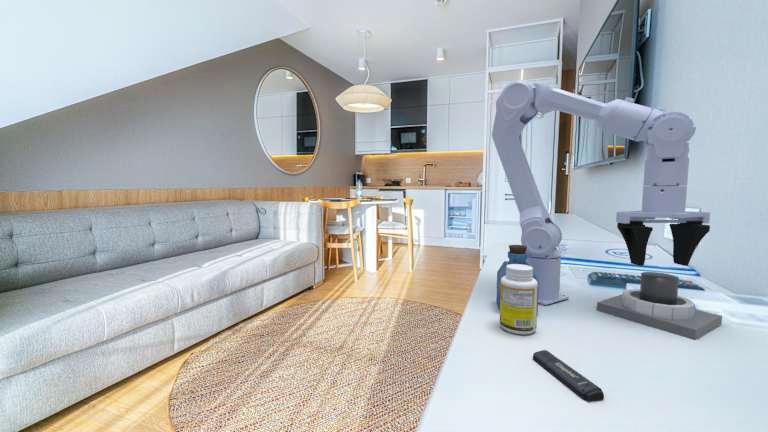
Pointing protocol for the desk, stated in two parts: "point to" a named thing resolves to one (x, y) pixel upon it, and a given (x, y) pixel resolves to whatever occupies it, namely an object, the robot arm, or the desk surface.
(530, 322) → the supplement bottle
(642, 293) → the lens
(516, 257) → the perfume bottle
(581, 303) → the desk surface
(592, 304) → the desk surface
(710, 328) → the ring holder base
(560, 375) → the usb stick
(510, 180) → the robot arm
